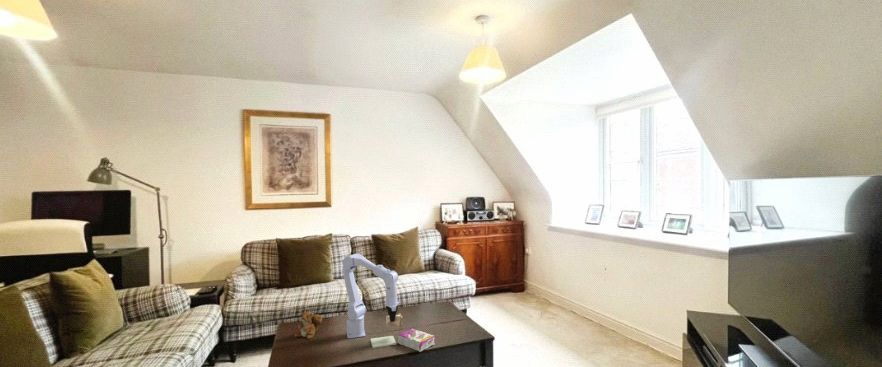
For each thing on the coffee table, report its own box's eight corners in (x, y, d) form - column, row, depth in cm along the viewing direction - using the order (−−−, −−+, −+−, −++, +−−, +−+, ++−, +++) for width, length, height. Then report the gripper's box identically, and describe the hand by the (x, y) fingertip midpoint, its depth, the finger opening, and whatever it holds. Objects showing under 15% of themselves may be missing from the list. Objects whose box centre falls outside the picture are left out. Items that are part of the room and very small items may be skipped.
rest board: (372, 347, 191) (372, 346, 191) (370, 340, 201) (370, 338, 201) (396, 344, 195) (396, 342, 195) (393, 337, 204) (392, 335, 204)
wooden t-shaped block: (387, 328, 196) (387, 318, 196) (385, 323, 203) (385, 314, 203) (402, 327, 198) (402, 317, 198) (400, 322, 205) (400, 313, 205)
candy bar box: (412, 327, 204) (435, 335, 194) (412, 336, 204) (435, 345, 194) (396, 334, 196) (420, 342, 185) (397, 343, 196) (420, 352, 185)
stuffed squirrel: (292, 337, 207) (292, 313, 207) (312, 328, 220) (311, 305, 220) (306, 340, 203) (305, 316, 203) (325, 331, 215) (324, 308, 215)
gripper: (401, 297, 194) (402, 324, 194) (396, 290, 208) (397, 315, 208) (387, 299, 192) (388, 326, 192) (383, 291, 206) (384, 316, 206)
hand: (392, 320), depth 200 cm, fingers closed on wooden t-shaped block, 2 cm apart
